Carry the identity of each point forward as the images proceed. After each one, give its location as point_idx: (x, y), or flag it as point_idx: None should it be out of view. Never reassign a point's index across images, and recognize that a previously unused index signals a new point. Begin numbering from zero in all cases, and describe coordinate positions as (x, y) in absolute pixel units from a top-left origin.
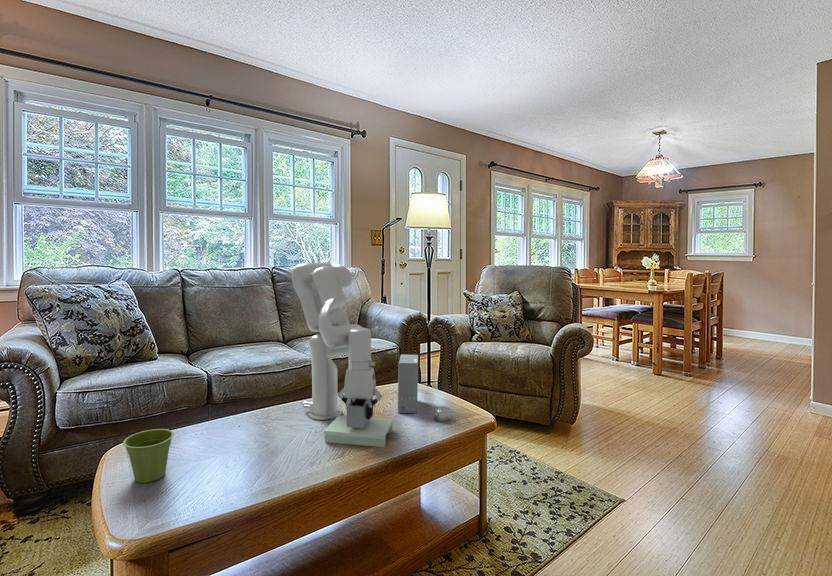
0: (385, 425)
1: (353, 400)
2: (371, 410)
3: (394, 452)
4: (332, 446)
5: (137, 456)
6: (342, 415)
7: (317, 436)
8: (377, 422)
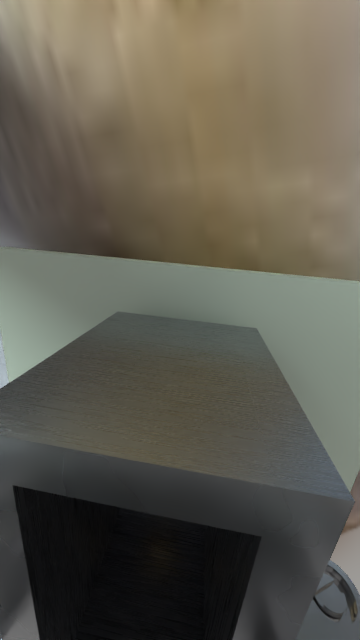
0: (354, 406)
1: (15, 600)
2: None
3: (355, 498)
4: None
5: None
6: (14, 250)
7: (6, 369)
8: (294, 360)
